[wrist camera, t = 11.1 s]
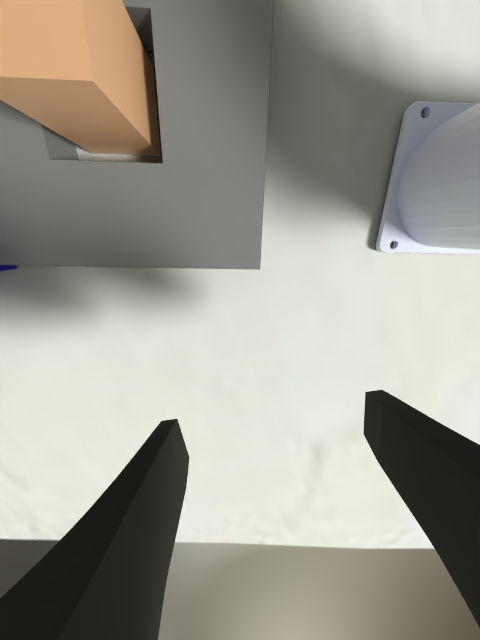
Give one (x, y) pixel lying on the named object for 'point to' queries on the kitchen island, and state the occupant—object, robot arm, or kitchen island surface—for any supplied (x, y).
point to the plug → (80, 73)
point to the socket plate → (177, 153)
